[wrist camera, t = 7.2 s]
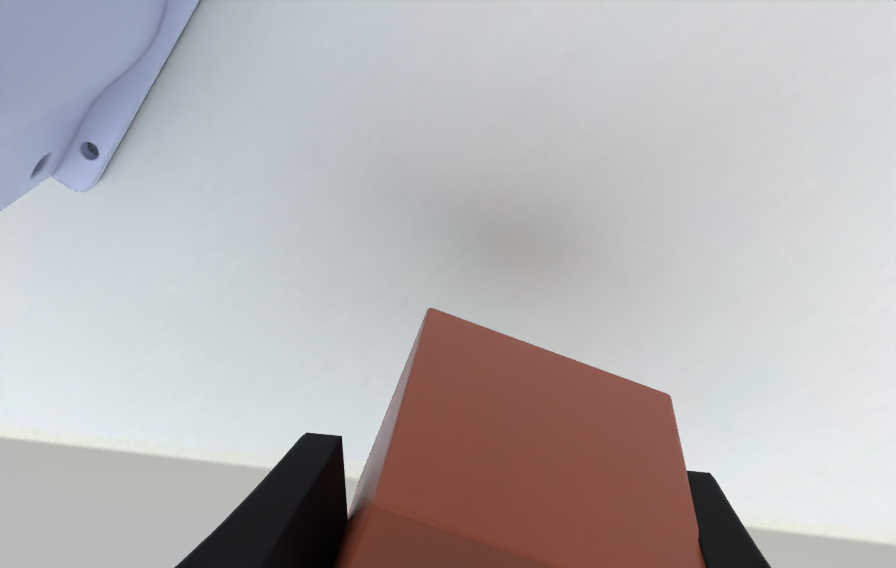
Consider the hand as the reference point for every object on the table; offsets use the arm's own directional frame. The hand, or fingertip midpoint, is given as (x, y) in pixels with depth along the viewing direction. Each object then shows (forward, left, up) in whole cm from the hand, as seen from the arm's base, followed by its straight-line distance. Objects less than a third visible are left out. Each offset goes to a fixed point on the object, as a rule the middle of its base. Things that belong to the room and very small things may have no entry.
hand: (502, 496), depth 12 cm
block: (0, 0, -1) cm, 1 cm away
